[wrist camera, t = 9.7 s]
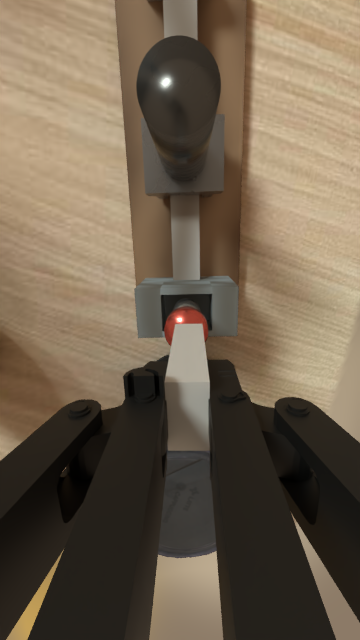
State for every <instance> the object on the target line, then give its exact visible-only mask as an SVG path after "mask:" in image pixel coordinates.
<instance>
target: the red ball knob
mask: <svg viewBox="0 0 360 640" xmlns="http://www.w3.org/2000/svg"><path fill="white" fill-rule="evenodd" d="M175 324H202V325H203V333H204V341H206V339H207V337H208V325H207V321H206V318H205V316H204V315H203V314H202V313H201V310H200V306H199V304H198V303H197V302H196V301H195V300H193V299H191V298H183V299H181V300H179V301H178V302H177V303H176V304H175V306H174V308H173V311H172V312H171V313H170V315H169V316H168V318H167V320H166V324H165V328H164V334H165V338H166V340H167V342H168V343H169V345H170V346H171V344H172V339H173V334H174V328H175Z"/></svg>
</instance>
